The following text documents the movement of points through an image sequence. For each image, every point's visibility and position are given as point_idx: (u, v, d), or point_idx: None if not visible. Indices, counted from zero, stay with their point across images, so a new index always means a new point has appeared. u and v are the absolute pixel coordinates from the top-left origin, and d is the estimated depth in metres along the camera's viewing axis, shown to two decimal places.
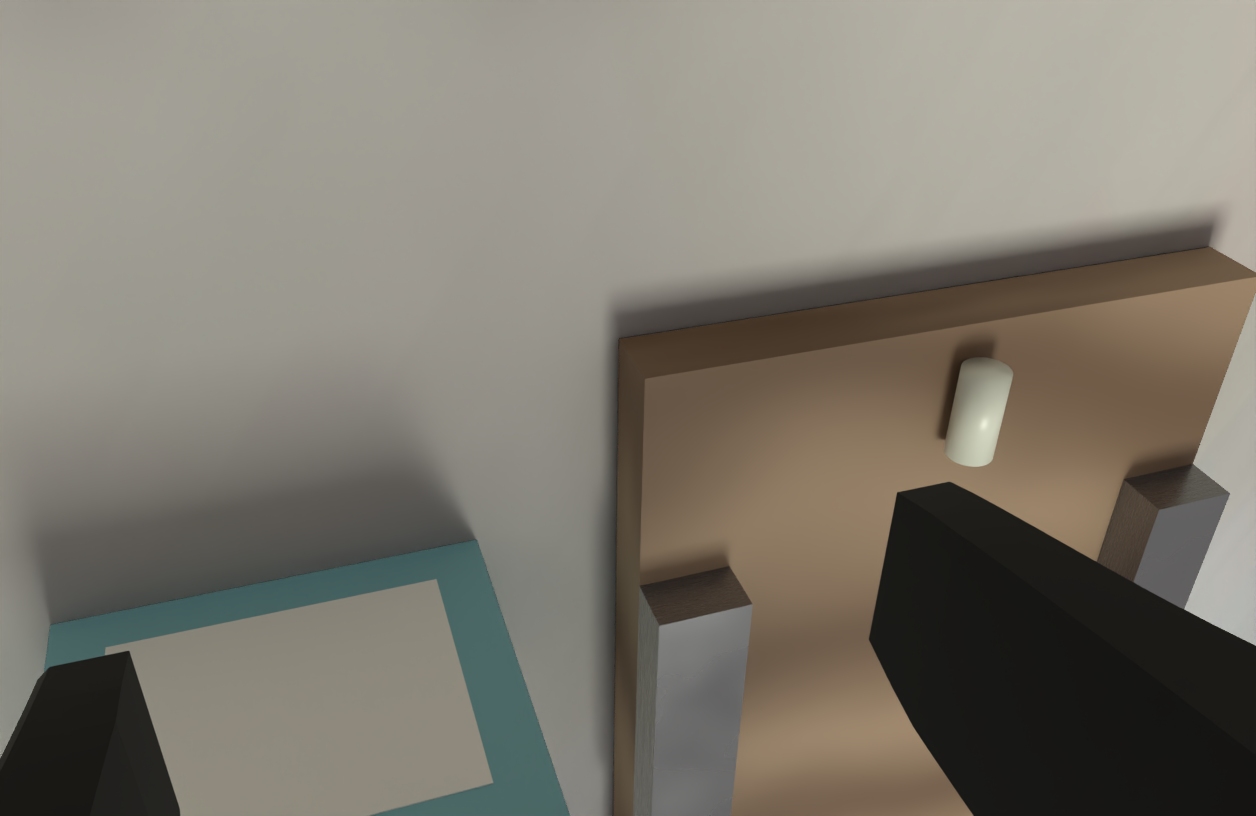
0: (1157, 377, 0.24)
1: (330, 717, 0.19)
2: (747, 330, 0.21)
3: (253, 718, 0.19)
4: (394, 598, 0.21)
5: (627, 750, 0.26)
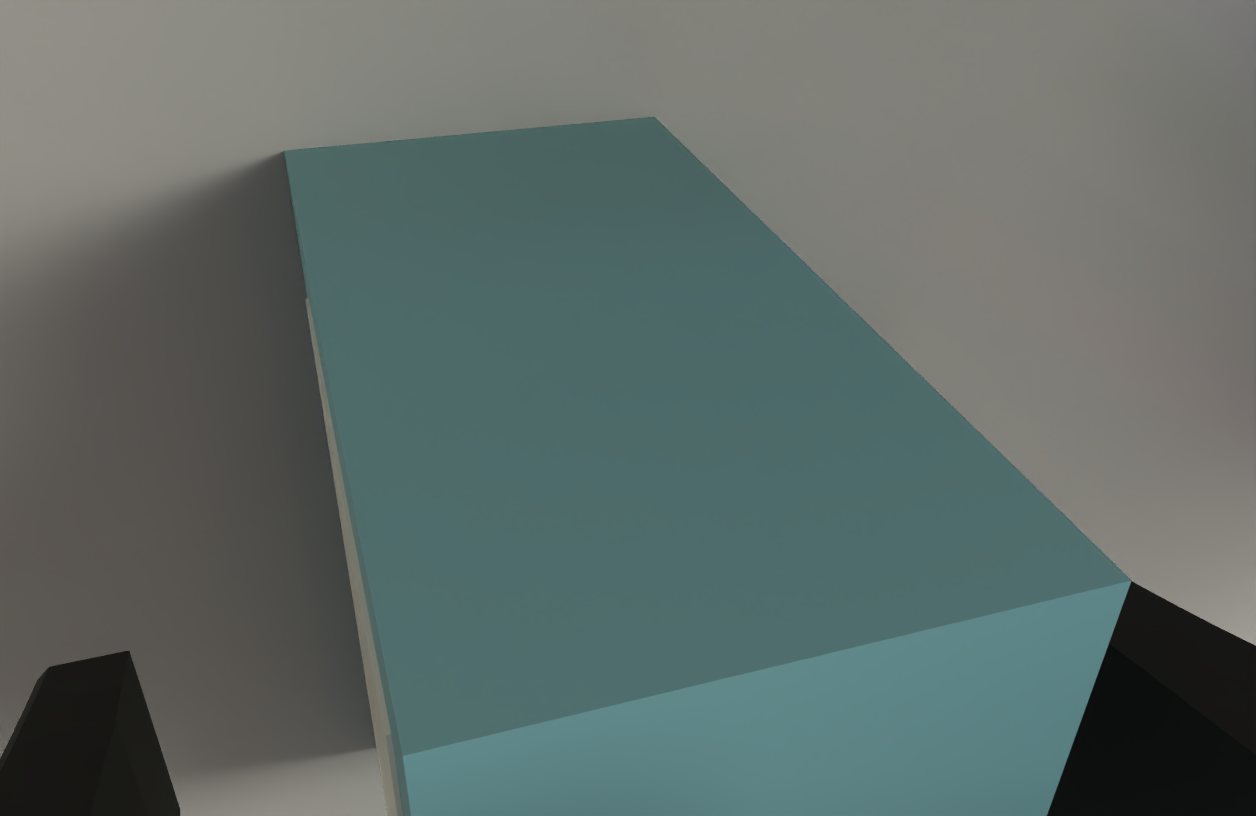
0: None
1: None
2: None
3: (386, 789, 0.10)
4: (321, 399, 0.10)
5: None
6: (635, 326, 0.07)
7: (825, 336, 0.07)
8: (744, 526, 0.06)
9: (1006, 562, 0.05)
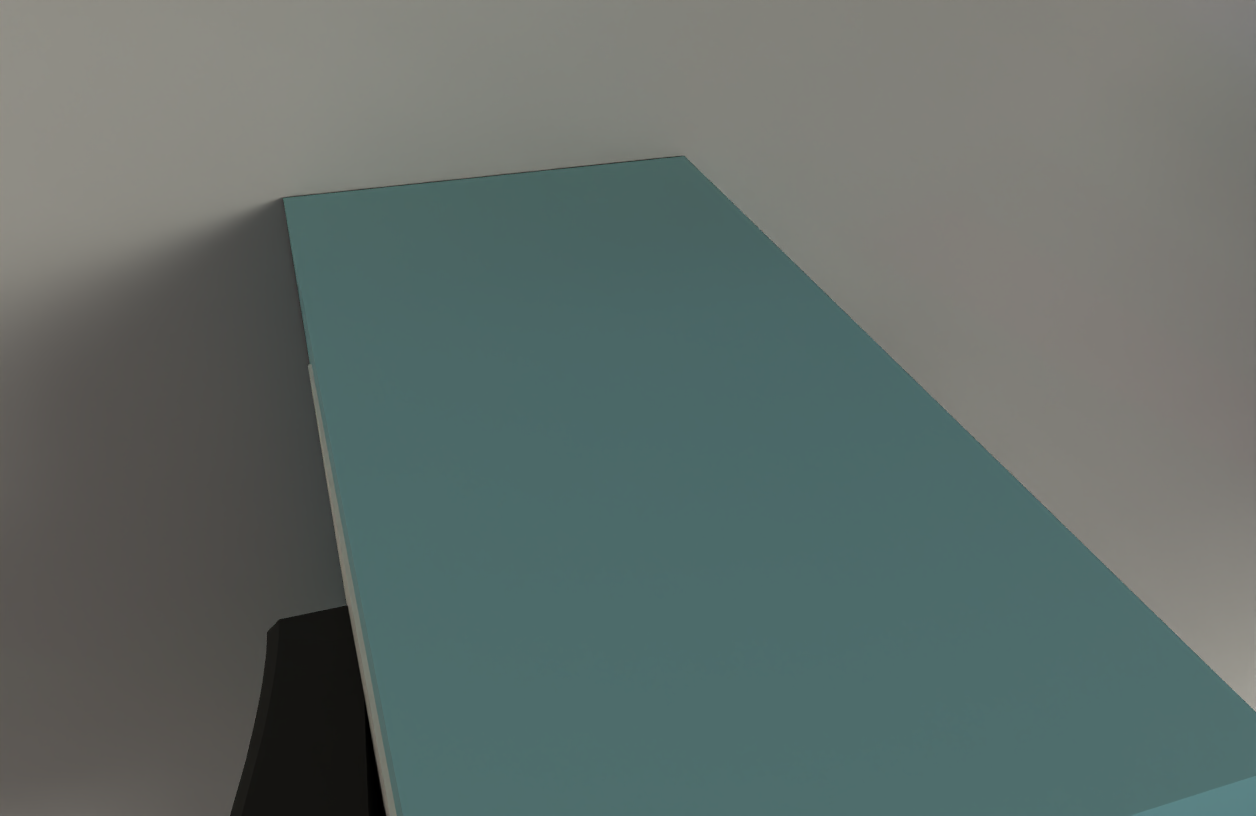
0: None
1: None
2: None
3: None
4: (325, 473, 0.09)
5: None
6: (686, 418, 0.06)
7: (903, 428, 0.06)
8: (835, 690, 0.05)
9: (1153, 737, 0.05)
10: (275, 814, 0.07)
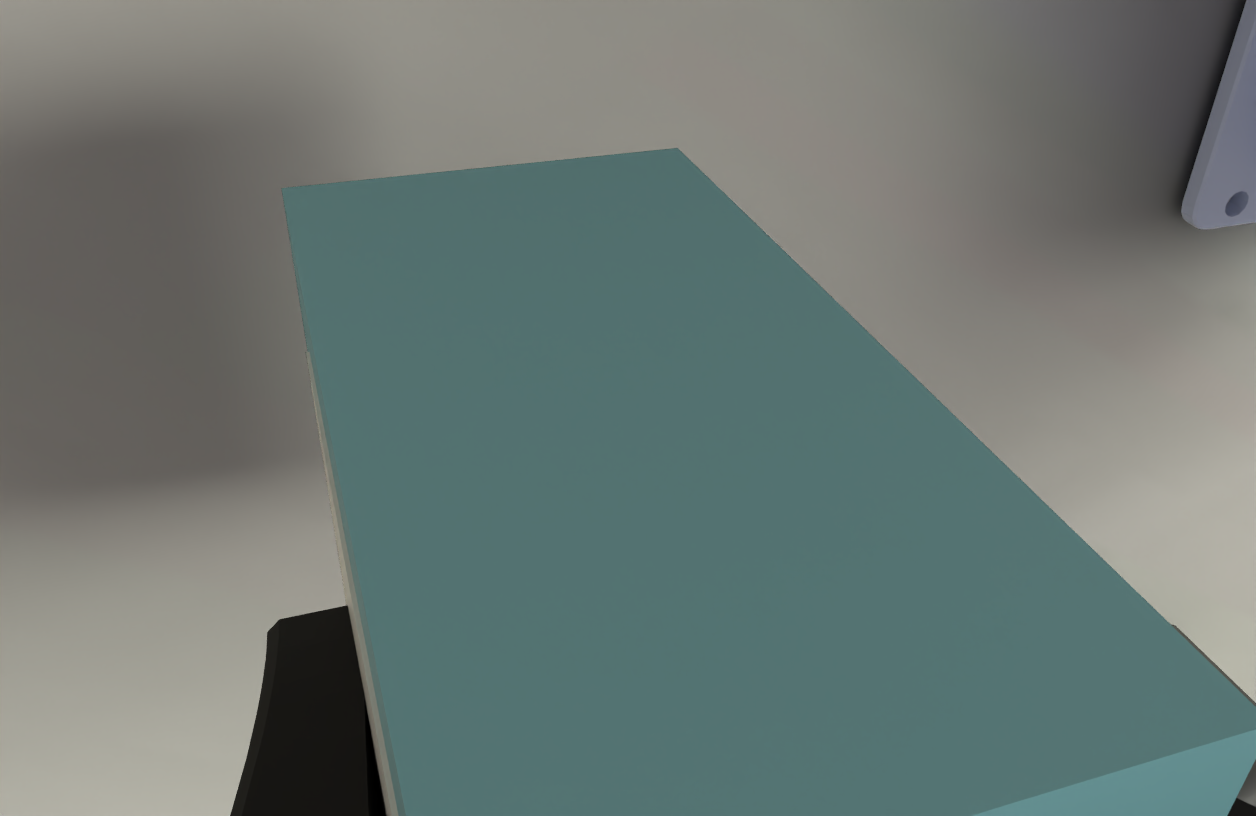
0: None
1: None
2: None
3: None
4: (324, 458, 0.09)
5: None
6: (676, 399, 0.07)
7: (888, 411, 0.07)
8: (820, 657, 0.05)
9: (1127, 701, 0.05)
10: (275, 814, 0.07)
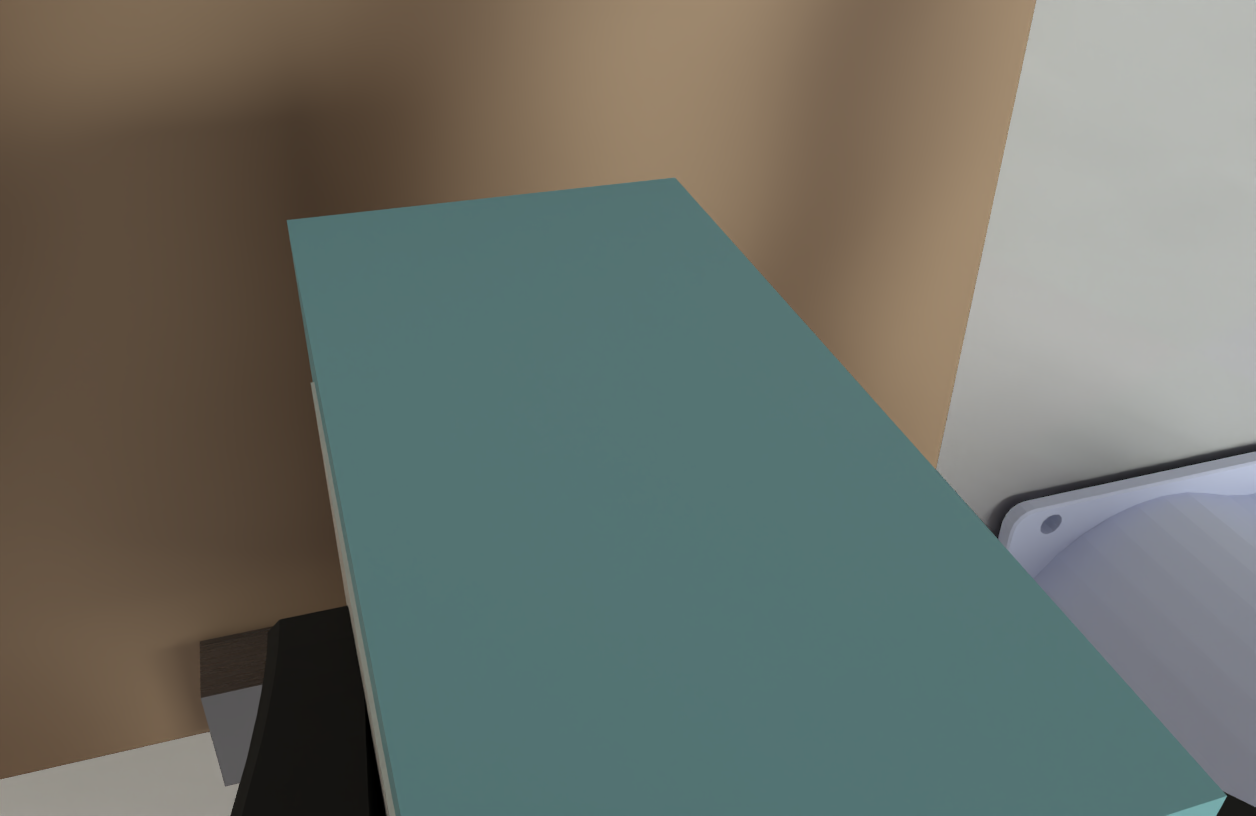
0: None
1: None
2: None
3: None
4: (327, 485, 0.09)
5: None
6: (671, 451, 0.07)
7: (875, 466, 0.07)
8: (803, 727, 0.05)
9: (1090, 773, 0.05)
10: (276, 814, 0.07)
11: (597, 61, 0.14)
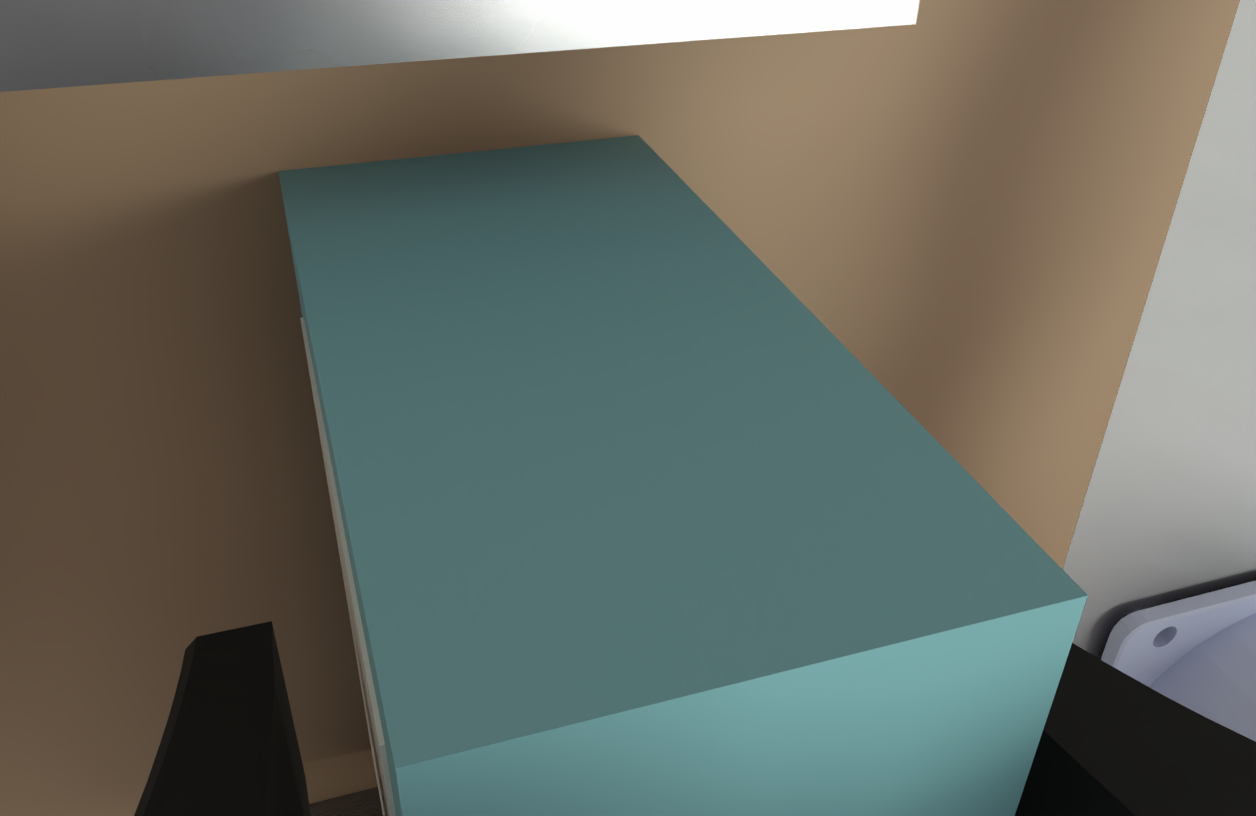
0: None
1: None
2: None
3: (382, 795, 0.10)
4: (317, 415, 0.10)
5: None
6: (619, 348, 0.08)
7: (802, 358, 0.08)
8: (720, 547, 0.06)
9: (969, 579, 0.06)
10: None
11: (697, 156, 0.11)
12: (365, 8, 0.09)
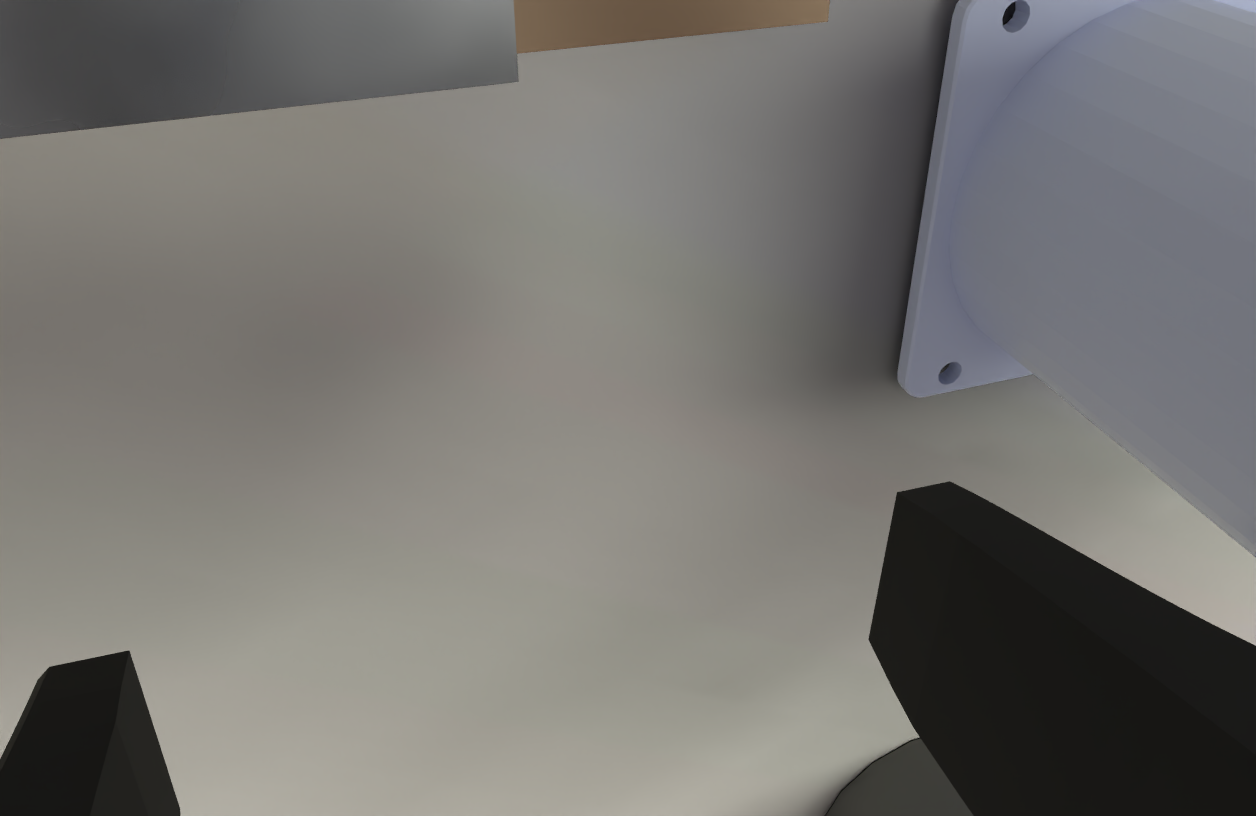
0: None
1: None
2: None
3: None
4: None
5: None
6: None
7: None
8: None
9: None
10: None
11: None
12: None
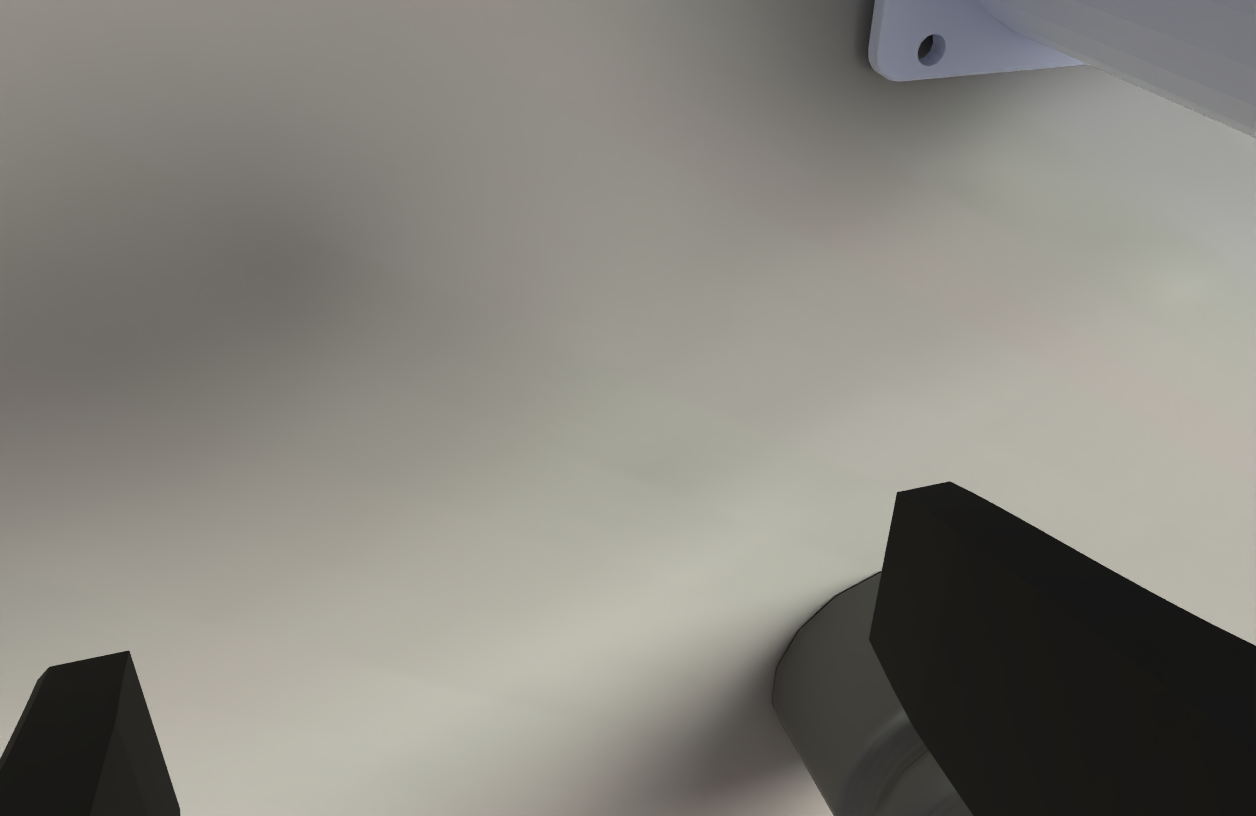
0: None
1: None
2: None
3: None
4: None
5: None
6: None
7: None
8: None
9: None
10: None
11: None
12: None
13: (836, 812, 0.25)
